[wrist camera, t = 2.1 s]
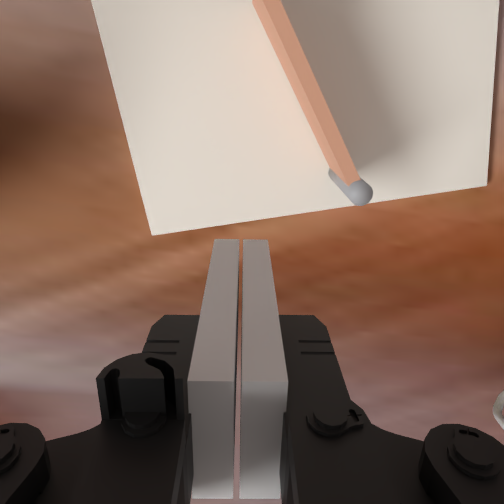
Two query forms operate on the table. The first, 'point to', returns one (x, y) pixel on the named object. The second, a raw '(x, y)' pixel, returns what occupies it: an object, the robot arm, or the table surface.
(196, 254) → the table surface
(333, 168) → the fence panel
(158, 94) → the board
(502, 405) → the teacup
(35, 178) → the table surface
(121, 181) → the table surface
